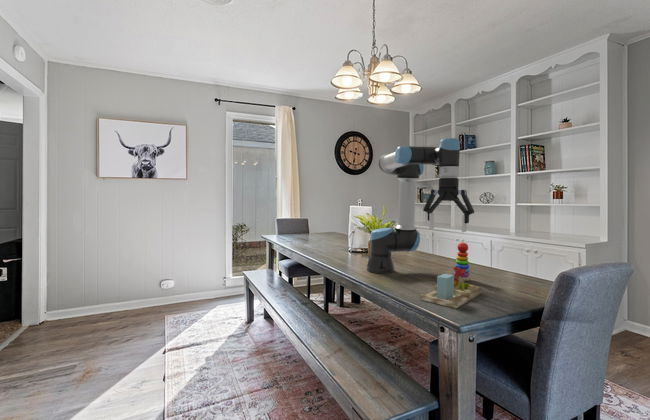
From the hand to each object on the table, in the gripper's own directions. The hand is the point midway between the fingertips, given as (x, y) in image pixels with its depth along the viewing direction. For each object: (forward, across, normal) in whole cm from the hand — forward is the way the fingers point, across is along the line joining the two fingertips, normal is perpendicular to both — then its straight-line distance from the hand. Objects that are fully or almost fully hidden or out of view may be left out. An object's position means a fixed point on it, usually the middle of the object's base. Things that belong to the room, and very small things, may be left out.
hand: (447, 230), depth 139 cm
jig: (+29, 0, +6) cm, 29 cm away
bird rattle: (+28, 0, +12) cm, 30 cm away
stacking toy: (+29, -8, +37) cm, 48 cm away
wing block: (+28, 0, 0) cm, 28 cm away
